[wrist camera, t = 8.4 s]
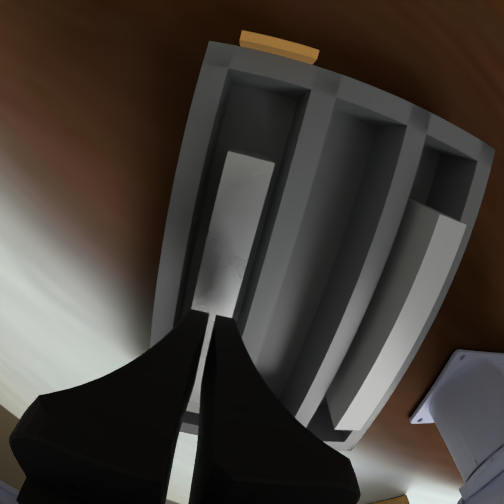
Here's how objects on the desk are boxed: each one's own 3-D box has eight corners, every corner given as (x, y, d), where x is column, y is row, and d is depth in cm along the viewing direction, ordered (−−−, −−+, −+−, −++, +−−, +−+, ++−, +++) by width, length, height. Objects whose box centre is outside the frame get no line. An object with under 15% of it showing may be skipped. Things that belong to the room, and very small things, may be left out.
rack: (452, 137, 15) (516, 144, 10) (339, 409, 22) (355, 466, 17) (220, 56, 14) (207, 19, 9) (158, 380, 21) (139, 440, 15)
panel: (213, 355, 19) (204, 414, 14) (187, 349, 19) (173, 407, 14) (267, 155, 15) (275, 163, 10) (234, 147, 15) (227, 151, 10)
